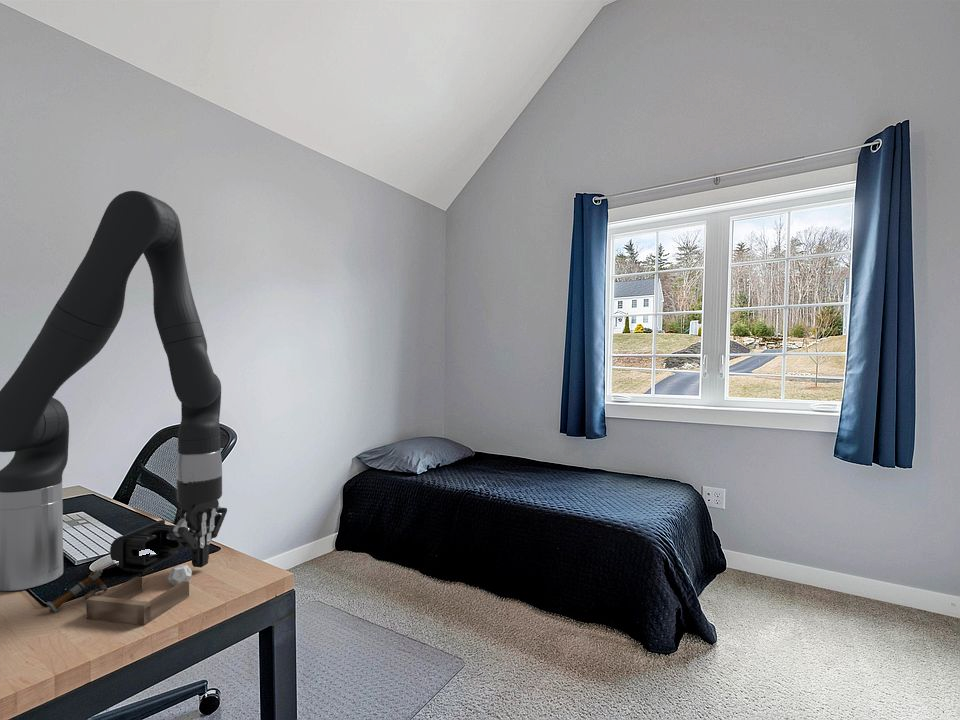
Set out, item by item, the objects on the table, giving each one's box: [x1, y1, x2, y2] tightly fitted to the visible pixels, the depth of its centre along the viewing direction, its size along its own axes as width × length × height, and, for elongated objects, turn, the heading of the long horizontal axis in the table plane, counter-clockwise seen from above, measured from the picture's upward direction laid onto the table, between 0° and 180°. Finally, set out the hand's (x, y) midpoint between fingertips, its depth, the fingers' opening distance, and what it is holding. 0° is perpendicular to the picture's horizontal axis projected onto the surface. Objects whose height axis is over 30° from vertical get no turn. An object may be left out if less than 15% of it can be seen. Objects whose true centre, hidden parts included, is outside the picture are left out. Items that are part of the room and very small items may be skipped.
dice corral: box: [85, 576, 190, 626], centre depth 83 cm, size 10×9×3 cm
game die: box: [168, 564, 193, 587], centre depth 91 cm, size 4×4×3 cm
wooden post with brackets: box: [45, 568, 109, 614], centre depth 84 cm, size 2×8×4 cm, turn 150°
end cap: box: [109, 519, 181, 573], centre depth 100 cm, size 10×7×7 cm
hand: (200, 565), depth 96 cm, fingers closed
